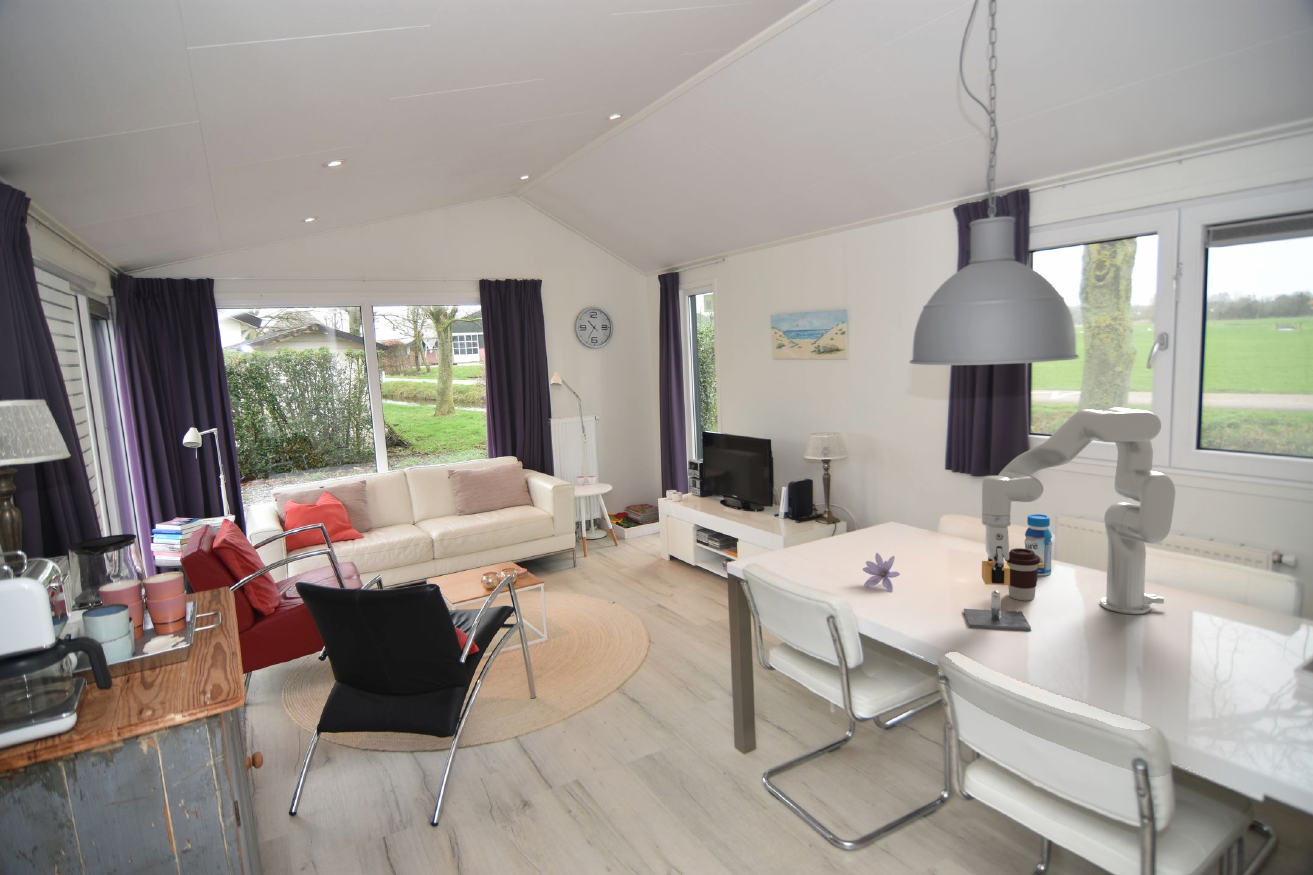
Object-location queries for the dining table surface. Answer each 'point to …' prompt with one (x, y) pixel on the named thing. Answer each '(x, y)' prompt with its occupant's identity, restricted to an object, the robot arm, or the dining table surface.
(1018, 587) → the coffee cup
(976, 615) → the keeper
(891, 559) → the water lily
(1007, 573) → the orange hollow square block
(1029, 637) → the dining table surface
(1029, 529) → the beverage bottle
